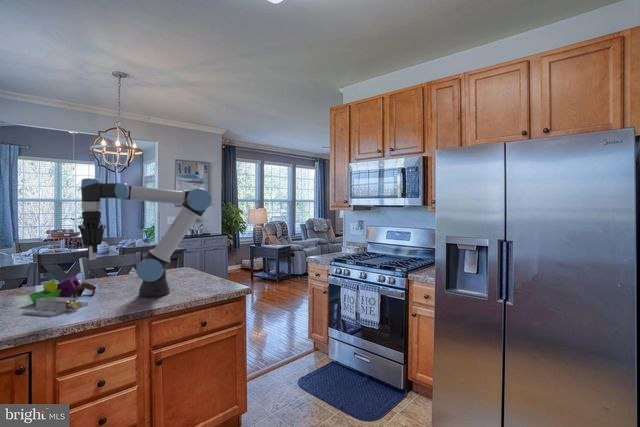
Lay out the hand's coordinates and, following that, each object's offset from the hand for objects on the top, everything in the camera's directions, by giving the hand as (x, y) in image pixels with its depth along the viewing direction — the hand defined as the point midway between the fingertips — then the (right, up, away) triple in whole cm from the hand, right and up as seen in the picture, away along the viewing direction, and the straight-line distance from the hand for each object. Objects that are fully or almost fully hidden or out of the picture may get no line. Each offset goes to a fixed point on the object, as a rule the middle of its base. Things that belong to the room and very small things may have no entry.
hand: (92, 259), depth 158 cm
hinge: (-13, -22, -6) cm, 26 cm away
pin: (-10, -22, -6) cm, 25 cm away
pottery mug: (-16, -22, +16) cm, 32 cm away
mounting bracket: (-31, -22, +17) cm, 42 cm away
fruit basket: (-27, -22, +6) cm, 35 cm away
